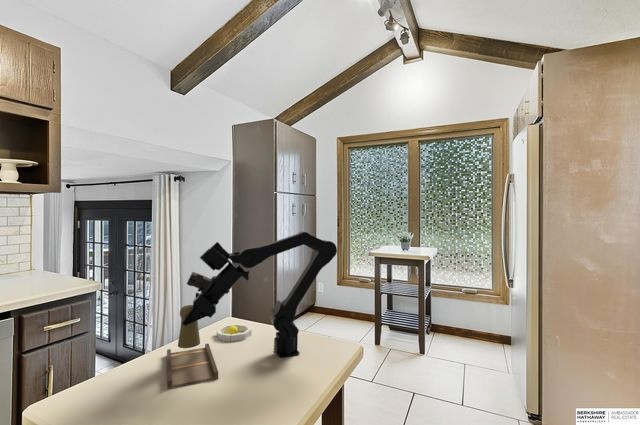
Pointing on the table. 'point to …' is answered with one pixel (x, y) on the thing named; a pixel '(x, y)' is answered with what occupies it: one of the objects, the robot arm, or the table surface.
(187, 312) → the olive pawn shaped piece
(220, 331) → the white dish rim
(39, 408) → the table surface
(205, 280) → the robot arm
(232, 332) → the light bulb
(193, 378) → the channel board
